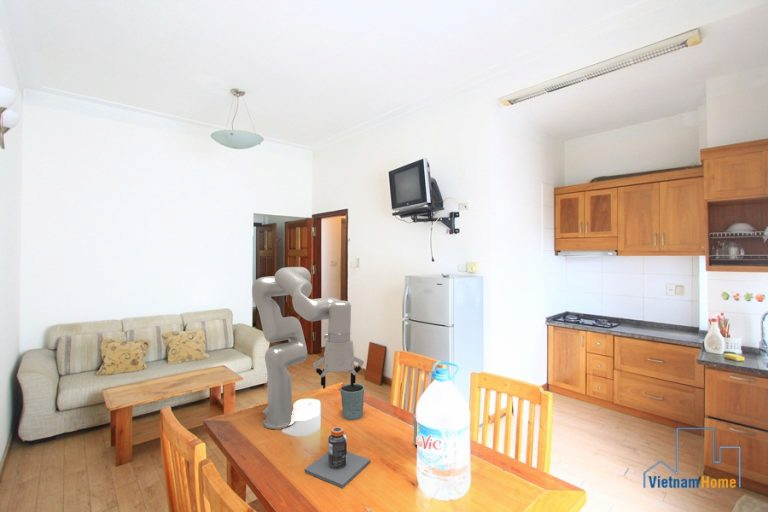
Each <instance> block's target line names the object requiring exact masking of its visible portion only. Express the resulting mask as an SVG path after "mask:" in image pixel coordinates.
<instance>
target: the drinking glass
mask: <svg viewBox="0 0 768 512" xmlns="http://www.w3.org/2000/svg"><path fill="white" fill-rule="evenodd" d="M364 394H365V386H364V385H363V384H360V383H356V382H355V383H354V387H351V384H350V383H347V384H346V383H345V384H343V385H342V386H340V396H341V407H342V411H341V412H342V417H343V418H344V419H345V420H348V421H356V420H360V419H362V417H363V415H364V401H365V400H364V396H365V395H364Z"/></svg>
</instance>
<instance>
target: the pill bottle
mask: <svg viewBox="0 0 768 512" xmlns="http://www.w3.org/2000/svg"><path fill="white" fill-rule="evenodd" d="M330 432H331V433H330V435H329V436H328V438H327V439H328V442H327V443H328V444H327V446H328V448H327V452H328V464H329V466H330V467H331V468H334V469H339V468H342V467H344V466H345V465H346V464H347V452H348V451H347V450H348V449H347V448H348V445H347V443H348V438H347V435H346V434H345V430H344V427H341V426H334V427H332V428H331V431H330Z"/></svg>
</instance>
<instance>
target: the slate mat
mask: <svg viewBox="0 0 768 512" xmlns="http://www.w3.org/2000/svg"><path fill="white" fill-rule="evenodd" d="M369 464H371V459H370V458H367V457H364V456H361V455H359V454H355V453H353V452H350V451H347V464H346V465H345V466H344V467H342V468H339V469H334V468H331V467H330V466H329V464H328V451H327V452H325V453H324V454H322V455H321V456H320V457H319V458H318V459H316V460H315V461H313V462H312V463H311V464H310V465H308V466H307V467H305V468H304V473H305V474H307V475H309V476H312V477H314V478H317V479H319V480H322V481H324V482H327V483H330V484H332V485H334V486H337V487H339V488H342V489H344V488H345V487H346V486H347V485H348V484H349V483H350V482H351V481H352V480H353V479H354V478H355V477H356V476H358V475H359V474H360V472H362V471H363V470H365V468H366V467H367V466H368V465H369Z"/></svg>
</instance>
